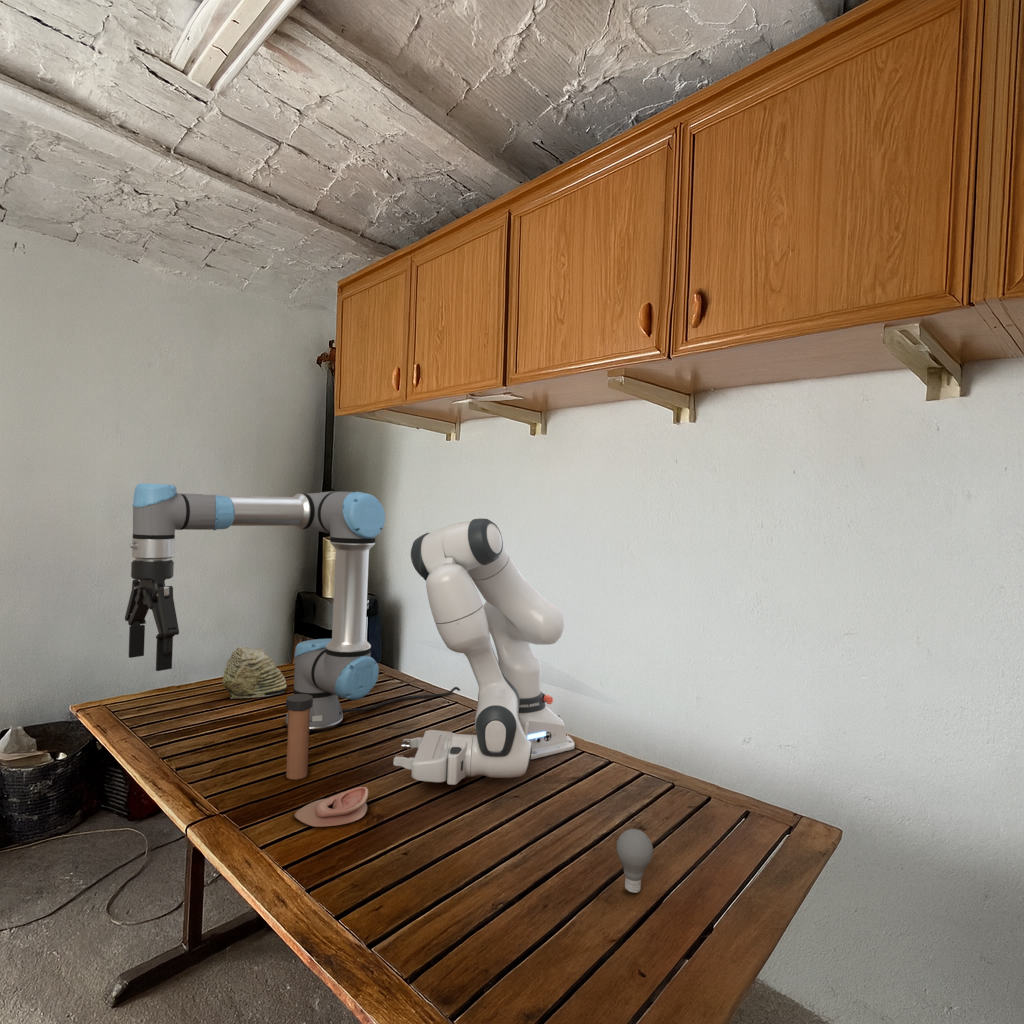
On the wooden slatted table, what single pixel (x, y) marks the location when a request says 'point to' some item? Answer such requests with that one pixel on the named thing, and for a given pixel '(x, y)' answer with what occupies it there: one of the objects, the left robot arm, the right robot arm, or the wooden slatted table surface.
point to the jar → (297, 744)
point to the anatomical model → (335, 809)
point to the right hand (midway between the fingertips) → (398, 751)
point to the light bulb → (634, 857)
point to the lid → (299, 702)
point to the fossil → (252, 674)
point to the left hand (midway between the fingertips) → (149, 663)
